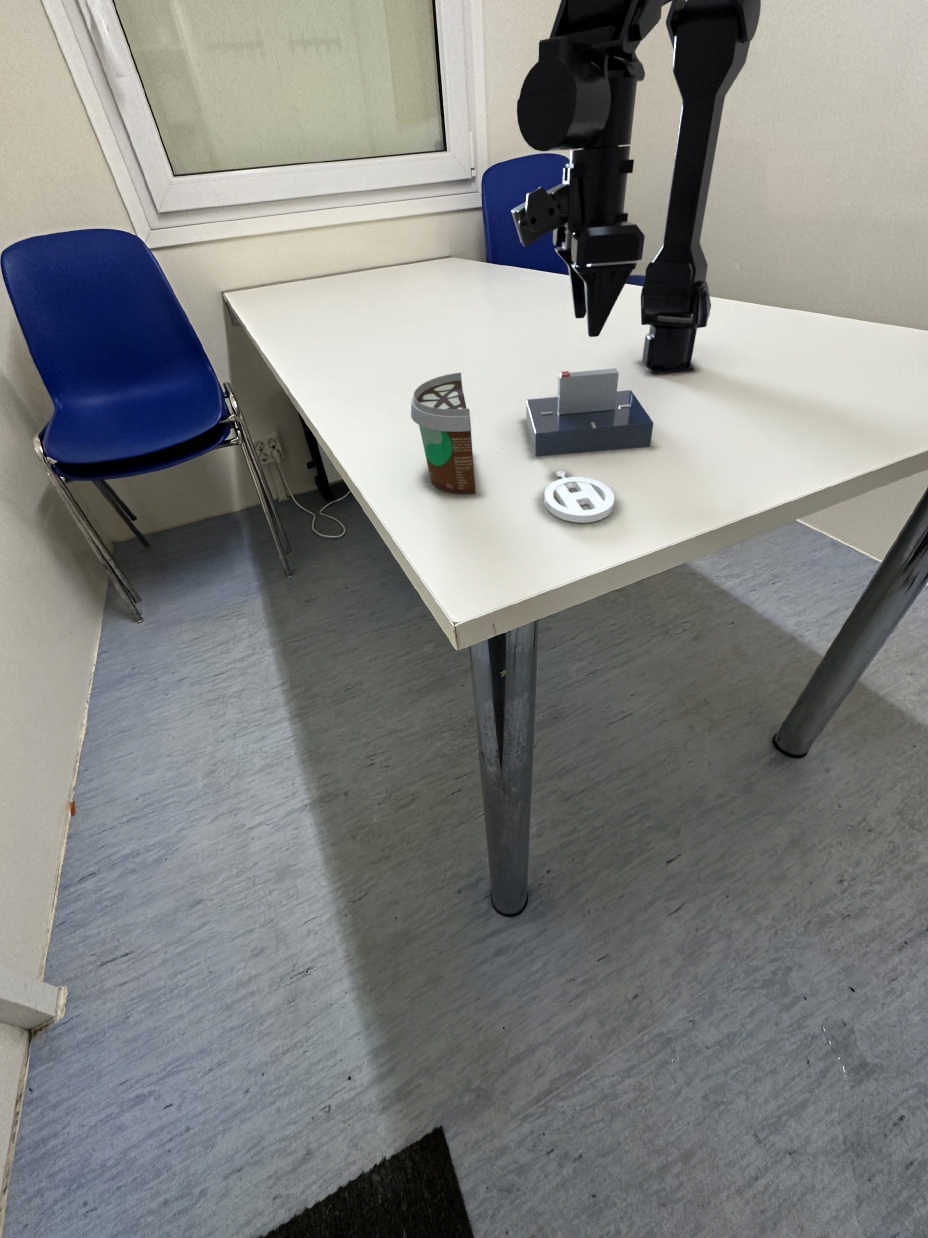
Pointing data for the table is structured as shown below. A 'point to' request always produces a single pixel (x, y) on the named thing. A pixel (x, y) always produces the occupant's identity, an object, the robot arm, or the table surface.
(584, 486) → the pendant
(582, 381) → the gray bar
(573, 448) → the tap base
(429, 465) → the food container
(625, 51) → the robot arm
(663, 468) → the table surface
